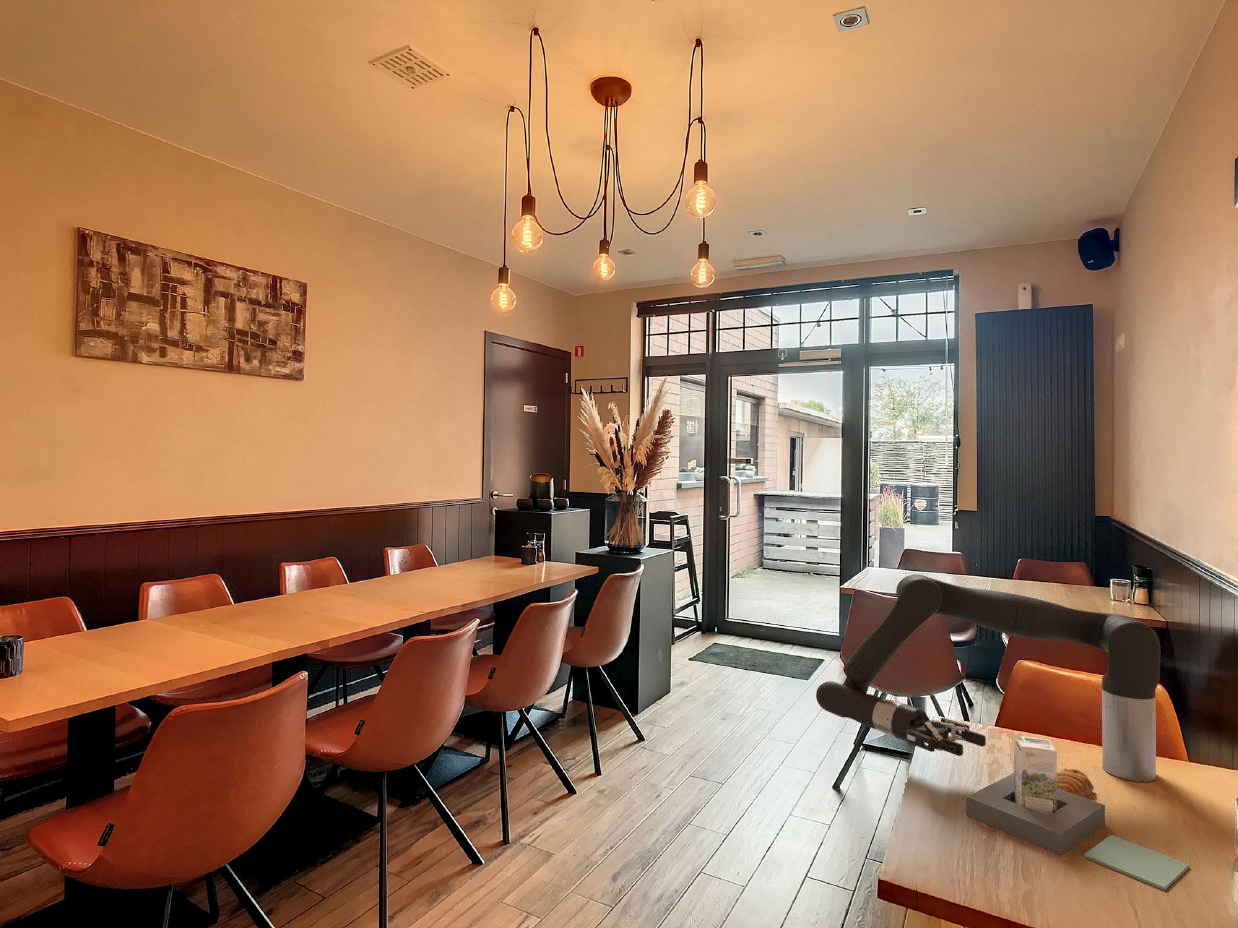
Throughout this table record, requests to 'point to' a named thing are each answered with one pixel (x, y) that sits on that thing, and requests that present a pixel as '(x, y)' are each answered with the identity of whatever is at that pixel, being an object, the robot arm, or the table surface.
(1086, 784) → the pastry
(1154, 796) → the table surface
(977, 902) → the table surface
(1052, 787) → the syrup box
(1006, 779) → the socket block
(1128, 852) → the sage mat
